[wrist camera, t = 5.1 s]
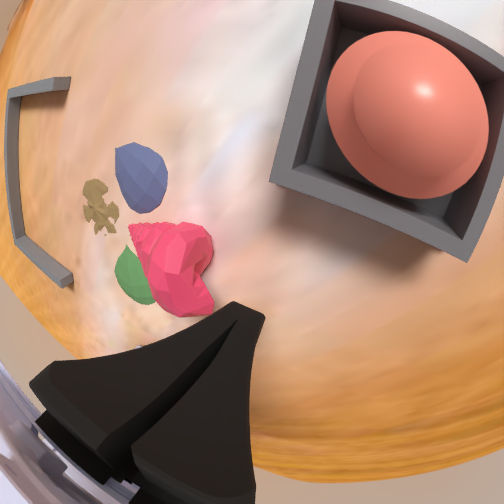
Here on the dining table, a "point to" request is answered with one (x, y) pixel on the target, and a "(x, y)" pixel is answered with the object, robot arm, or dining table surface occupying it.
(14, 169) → the frame
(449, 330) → the dining table surface
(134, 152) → the toy pieces
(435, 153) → the dome
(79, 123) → the dining table surface
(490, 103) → the dome base
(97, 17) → the dining table surface
